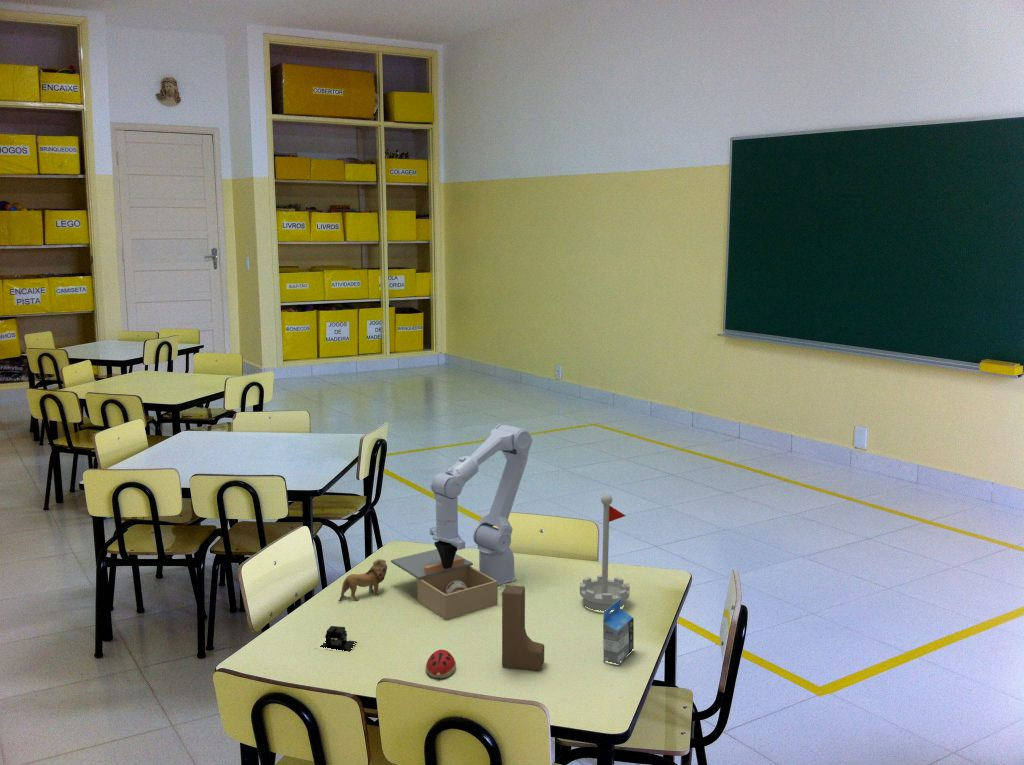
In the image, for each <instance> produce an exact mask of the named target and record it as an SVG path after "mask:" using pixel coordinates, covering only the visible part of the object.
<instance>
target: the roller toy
mask: <svg viewBox="0 0 1024 765" xmlns="http://www.w3.org/2000/svg"><path fill="white" fill-rule="evenodd" d="M464 589H468V588H467V587H466V585H465V584H464V583H463V582H462V581H458V580H457V581H453V582H451V583H450V584H449V585H448V586H447V587H446V591H445V593H446V594H450V593H453V592H457V591H461V590H464Z"/></svg>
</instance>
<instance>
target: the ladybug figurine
mask: <svg viewBox="0 0 1024 765" xmlns="http://www.w3.org/2000/svg"><path fill="white" fill-rule="evenodd" d="M456 667H457V664H456V660H455V657H454V655H452V654H451V653H450V651H448V650H446V649H441V648H440V649H438V650H436V651H434V652H433V653H432V654H431V655H430V656H429V657H428V659H427V661H426V664H425V672H426V673H427V674H428V676H430V677H431V678H433V677H434V679H438V678H440V679H445V677H446V678H448V677H449V676H451V675H452V674H453V673H454V672H455V670H456Z"/></svg>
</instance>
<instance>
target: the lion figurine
mask: <svg viewBox="0 0 1024 765" xmlns="http://www.w3.org/2000/svg"><path fill="white" fill-rule="evenodd" d="M387 570H388V564H387V562H386V559H381V558H378V559H376V560H374V561H373V562H372V566H370V568H369V570H368V571H366V572H364V573H351V574H349V575H347V576H346V577H345V579H344V580H343V582H342V588H341V592H340V597H339V599H338V602H342V600H343V599H346V598H347V596H346V595H345V593H346V592H347V591H348V590H350V592H351V593H350V596H351V598H352V599H353V600H354V601H355V602H357V601H360V598H359V597H356V591H357V589H358V587H359V588H360V587H361V588H367V587H368V592H369V594H372V593H374V595H375V596H376V595H377V597H379V596H380V595H381V593H380V592H378V591H379V587H380V586H379V584H381V583H383V581H384V580H385V577H386V575H387Z"/></svg>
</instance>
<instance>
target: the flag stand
mask: <svg viewBox="0 0 1024 765" xmlns="http://www.w3.org/2000/svg"><path fill="white" fill-rule="evenodd" d="M600 502H601V504H602V505H603V514H602V517H603V518H602V520H603V521H602V522H603V524H602V556H601V558H602V559H601V560H602V562H601V563H602V565H601V575H596V576H597V578H596V579H592V577H590V576H588V577H585V578H583V579H582V582H580V583H579V595H580V597H581V598H583V599H582V601H583V602H582V603H584V605H585V606H586V607H588V608H590V609H593V610H599V611H600V610H601V611H605V610H607V609H608V608H609V607H610V606H612V605H613V604H614V603H616V602H617V601H618V600H620V599H621V603H620V607H622V606H623V605H624V604H625V605H626V601H627V600H628V599H629V597H630V587H631V586H630V584H629V582H628V583H627V582H626V583H625V582H624V579H623V578H621V577H617V576H615V577H614V578H613V580H612V579H609V577H608V576H609V546H610V544H609V539H610V538H609V536H610V535H609V534H610V522H613V521H616V520H618V519H622V518H623V517H627V515H625V514H624V513H622V512H621V511H620V510H618V509H616V508H614V507H613V506H611V504H612V503H613V497H612V495H610V494H608V493H605V494H603V495H602V496H601V497H600ZM616 596H617V597H616ZM584 605H583V606H584ZM585 606H584V607H585ZM586 607H585V608H586ZM614 609H615V608H614ZM614 609H613V608H612V610H614Z"/></svg>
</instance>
